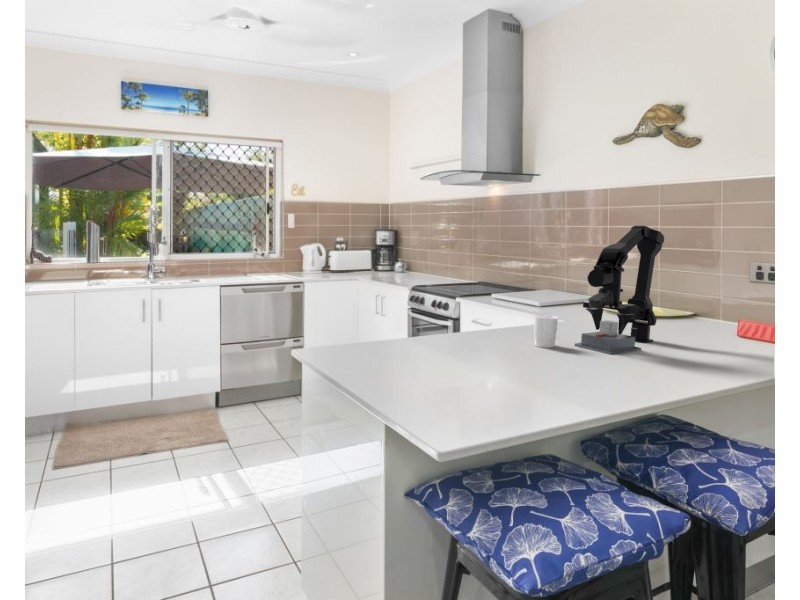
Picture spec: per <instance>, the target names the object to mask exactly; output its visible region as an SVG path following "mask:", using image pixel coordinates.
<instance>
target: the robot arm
mask: <svg viewBox="0 0 800 600" xmlns="http://www.w3.org/2000/svg"><path fill="white" fill-rule="evenodd" d="M664 243H665V235H664V234H663V233H662V231H660V230H659V231H658V230H656V229H653V228H650V227H649V226H647V225H634V226H631V228H630V230H629V231H628V232H627V233H626V234H625V235H623V236H622V237H621V238H620V239H619V240H618V241H617V242H616V243H612V244H610V245H607V246H606V247H604V248H603V249H602V250H601V252H600V255H598V258H597V259H596V263H595V265H594V266H593V269H592V270H591V271H590V272H589V273H588V275H587V282H588V284H589V285H590V286H591V287H593V288H599V289H598V293H596V294H594V295H592V296H590V297H588V298H587V299H584V300H583V301H582V308H584V309H585V311H588V313H589V314H590V315H591V317H592V320H593V321H592V322H593V323H594V327H595V330H596V331H597V330H599V331H600V321H602V320H603V319H602V318H603V314H604V309H607V310H608V309H609V310H612V311H613V310H614V311H617V312H618V313H617V314H616V316H617V317H618V318H617V319H618V331H617V333H618V334H623V332H624V330H625V329H626V327H627V325H628V324H631V328H630V336H633V337H635V342H639V343H647V342H648V343H649V342H653V341H654V339H652V338H650V335H651V327H652V326H656V325H657V324H656V323H657V317H656V315H655V311H653V308H654V307H653V306H654V304H653V302H652V300H651V298H650V294H651V293H650V292H651V287H652V280H653V275H654V274H653V273H654V267H655V259H656V257H657V255H658V254H659V253H661V250H662V247H663V244H664ZM635 247H636V248H637V250H638V252H639V256H640V257H639V263H638V269H637V276H636V283H635V289H634V295H632V297H631V298H628V300H627V303H623V301H622V300H621V293H623V292H624V289H623V288H622V286H621V285H622V272H625V269H624V268H623V265H624V264H625V263H626V262H627V260H628V259H629V253H630V252H631V251H632V249H634V248H635Z"/></svg>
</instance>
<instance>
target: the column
mask: <svg viewBox="0 0 800 600" xmlns="http://www.w3.org/2000/svg"><path fill="white" fill-rule="evenodd" d="M618 325H619V321H615V320H614V321H613V320H610V319H609V320H601V321H600V328H599V331H598V332H599V334H604V336H606V337H615V336H617V333H618Z"/></svg>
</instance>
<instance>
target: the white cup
mask: <svg viewBox="0 0 800 600" xmlns="http://www.w3.org/2000/svg"><path fill="white" fill-rule="evenodd" d="M558 320H559V317H558V316H556V315H547V314H546V315H544V314H541V315H540V314H539V315H538V314H537V315H534V316H533V334H534V335H533V338H534V346H536V347H538V348H544V349H545V348H547V349H551V348H554V347H556V339H557V331H558V324H559V323H558V322H559V321H558Z"/></svg>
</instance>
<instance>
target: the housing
mask: <svg viewBox="0 0 800 600" xmlns="http://www.w3.org/2000/svg"><path fill="white" fill-rule="evenodd" d="M599 332H600V331H595V332H592V331H591V332H585V333H581V339H580V340H581V342H577V343H574V347H578V348H582V349H585V350H591V351H595V352H598V353H602V354H607V355H610V356H611V355H616V354H625V353H632V352H639V351H642V347H638V346H635V345H636V341H635V337H633V336H631V335H627V334H623V333H622V334H618V332H617V336H615V337H606V336H604V334H599Z"/></svg>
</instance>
